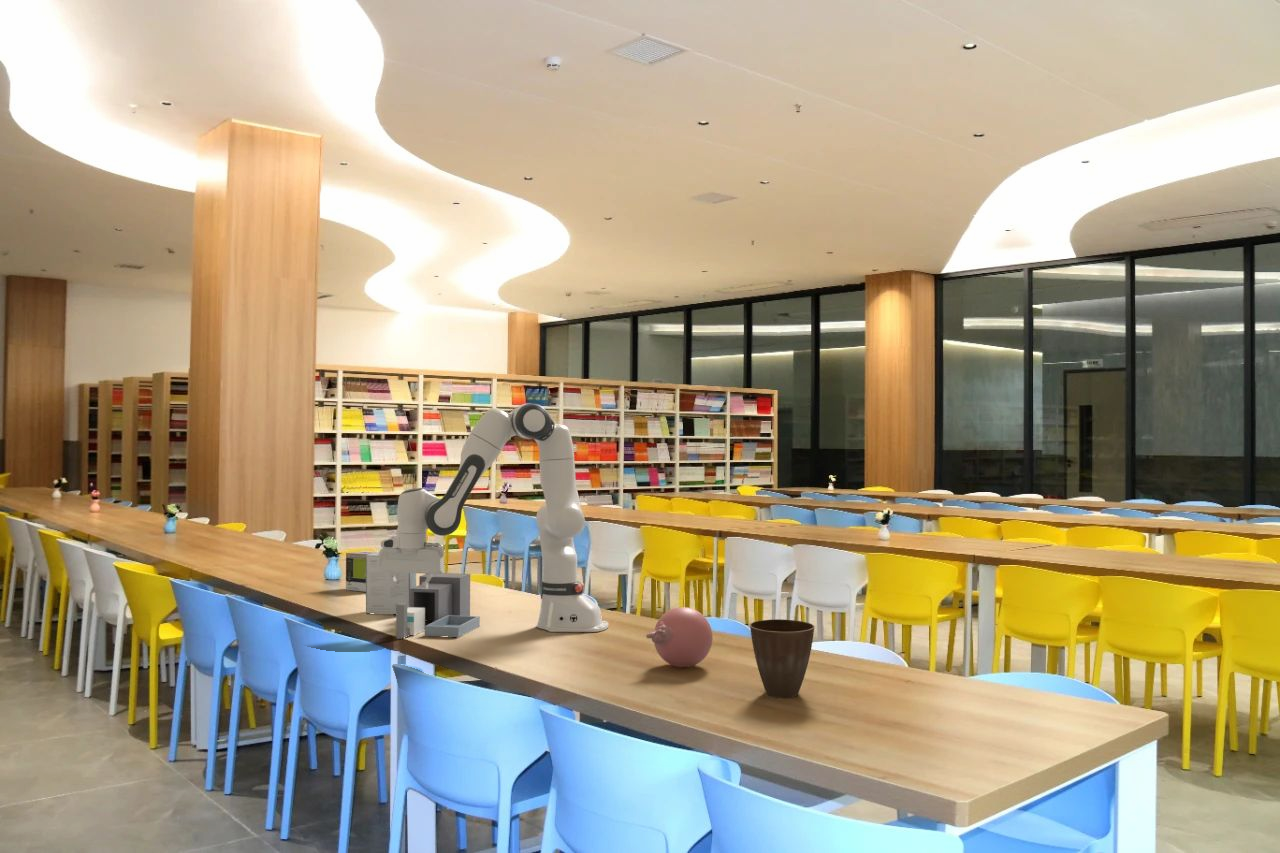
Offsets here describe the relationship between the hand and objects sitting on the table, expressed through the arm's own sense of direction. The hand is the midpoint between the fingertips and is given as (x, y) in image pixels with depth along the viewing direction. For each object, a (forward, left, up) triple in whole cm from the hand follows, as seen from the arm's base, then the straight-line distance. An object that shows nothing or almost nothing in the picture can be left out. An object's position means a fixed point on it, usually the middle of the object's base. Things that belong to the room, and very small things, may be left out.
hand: (410, 587), depth 299 cm
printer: (0, -21, -14) cm, 25 cm away
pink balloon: (-85, +28, -14) cm, 91 cm away
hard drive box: (+21, -32, -14) cm, 41 cm away
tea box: (+51, -77, -14) cm, 93 cm away
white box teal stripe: (0, +1, -14) cm, 14 cm away
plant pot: (-113, +49, -14) cm, 124 cm away
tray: (-11, -6, -14) cm, 19 cm away
